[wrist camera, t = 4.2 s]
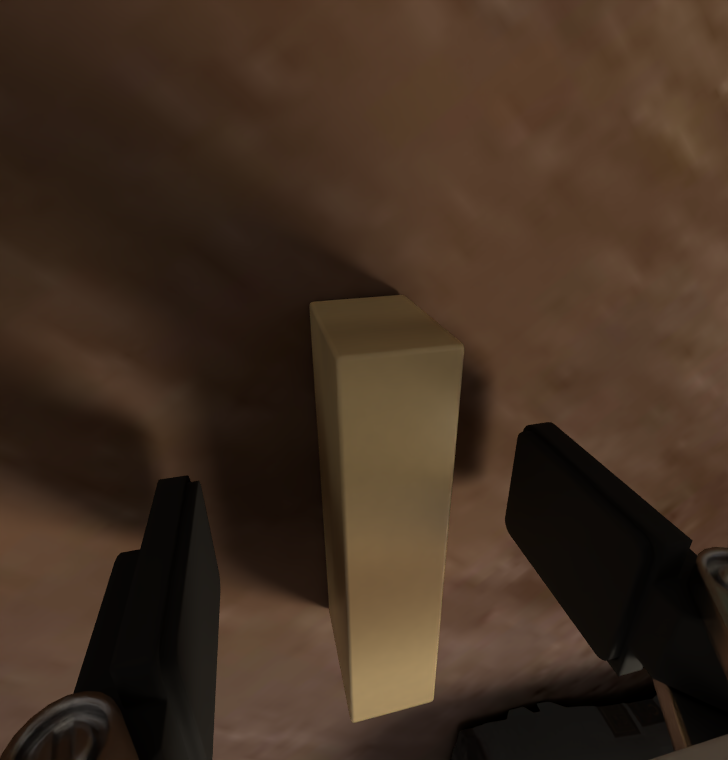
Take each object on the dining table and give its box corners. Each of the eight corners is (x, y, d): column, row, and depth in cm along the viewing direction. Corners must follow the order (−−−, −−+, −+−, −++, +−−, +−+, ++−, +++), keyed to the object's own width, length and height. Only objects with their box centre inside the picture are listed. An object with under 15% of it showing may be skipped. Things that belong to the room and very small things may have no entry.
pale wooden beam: (308, 300, 9) (335, 358, 7) (404, 293, 10) (467, 343, 7) (329, 611, 13) (351, 725, 10) (396, 596, 13) (434, 702, 11)
